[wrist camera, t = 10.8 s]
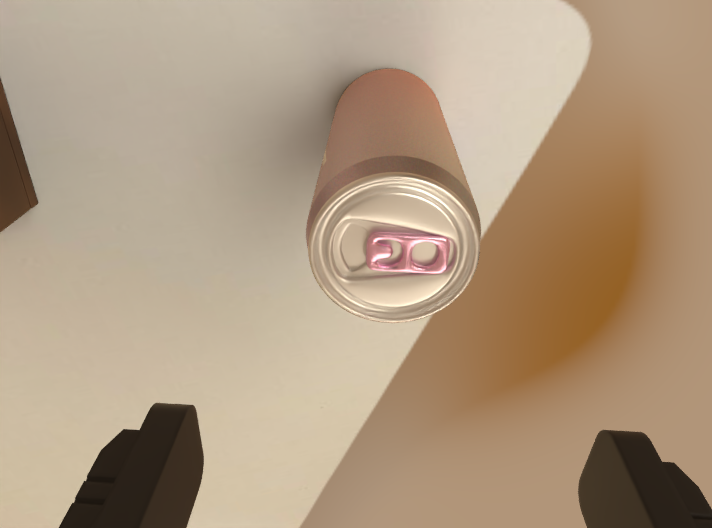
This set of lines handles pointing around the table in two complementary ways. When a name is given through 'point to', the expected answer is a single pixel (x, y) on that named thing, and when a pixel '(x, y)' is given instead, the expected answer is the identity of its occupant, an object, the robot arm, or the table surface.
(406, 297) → the beverage can
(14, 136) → the chest
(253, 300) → the table surface
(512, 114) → the table surface
